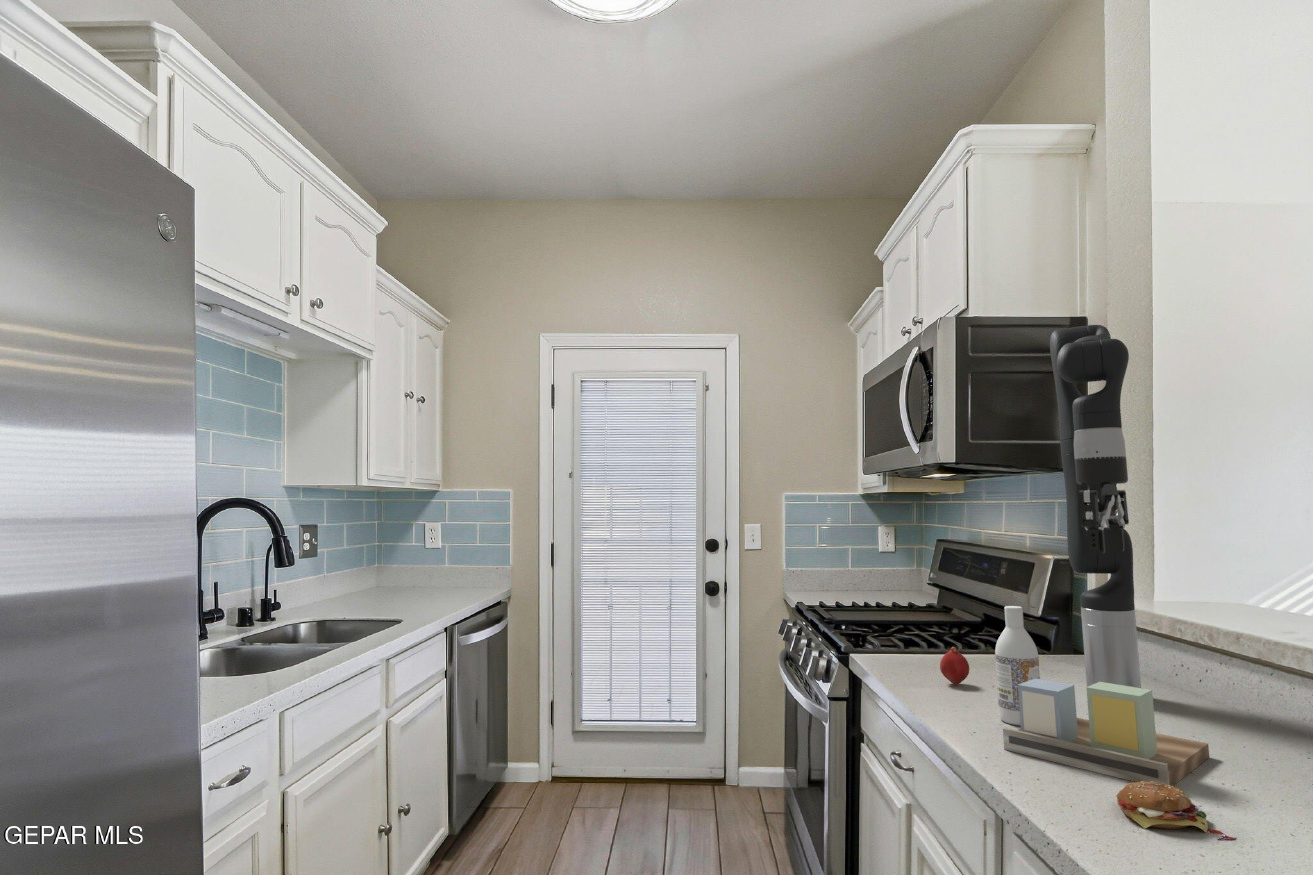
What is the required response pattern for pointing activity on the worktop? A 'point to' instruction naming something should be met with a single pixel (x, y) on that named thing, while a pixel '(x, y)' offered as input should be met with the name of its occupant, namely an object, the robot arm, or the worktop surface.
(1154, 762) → the wooden slab
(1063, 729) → the box
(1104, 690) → the tea box
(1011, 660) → the bath foam
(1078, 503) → the robot arm
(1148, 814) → the hamburger
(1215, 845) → the worktop surface
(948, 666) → the onion
